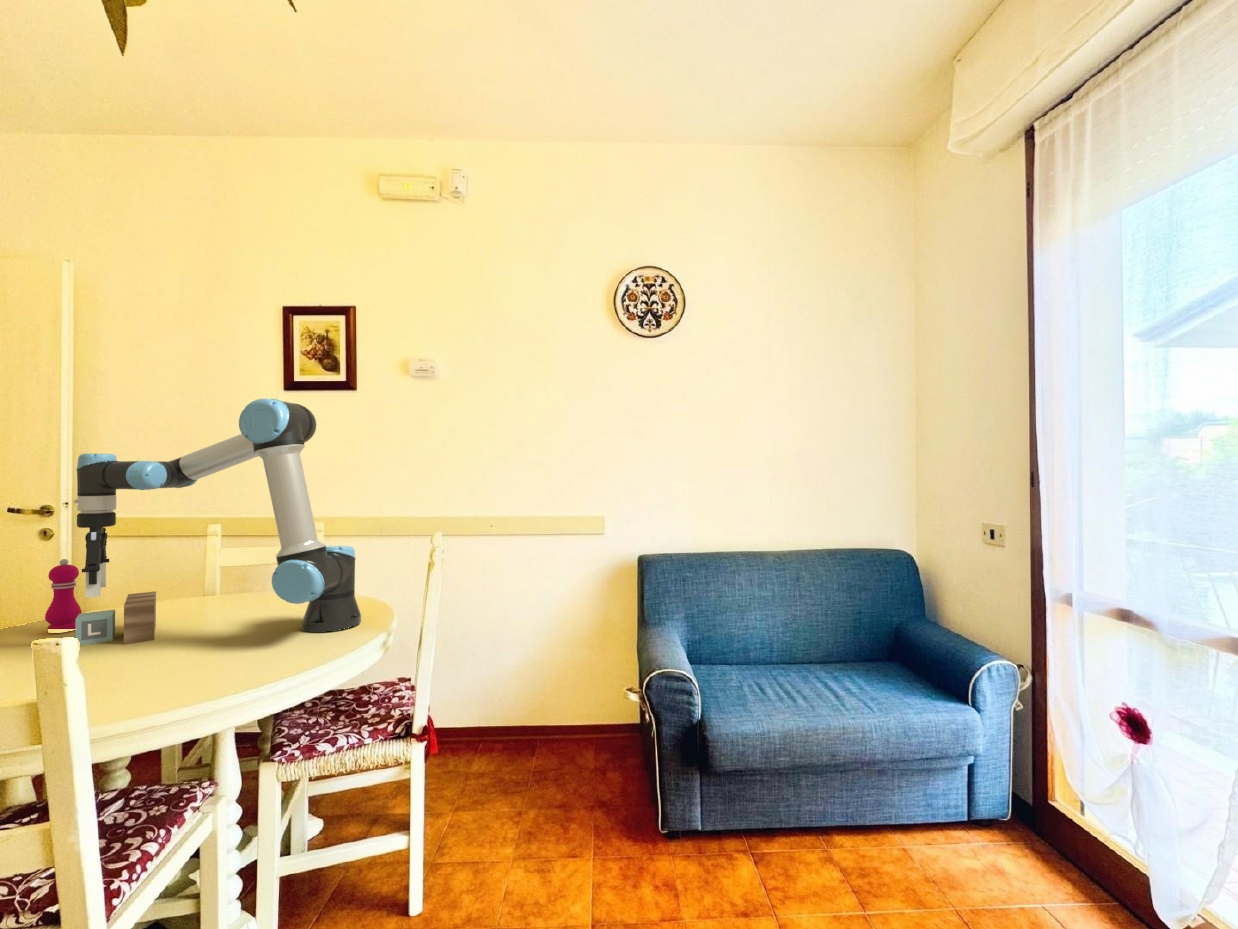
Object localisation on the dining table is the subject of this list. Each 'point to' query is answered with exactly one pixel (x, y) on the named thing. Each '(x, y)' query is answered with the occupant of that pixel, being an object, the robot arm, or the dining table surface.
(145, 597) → the walnut box
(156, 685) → the dining table surface
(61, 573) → the pepper mill
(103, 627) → the letter cube
